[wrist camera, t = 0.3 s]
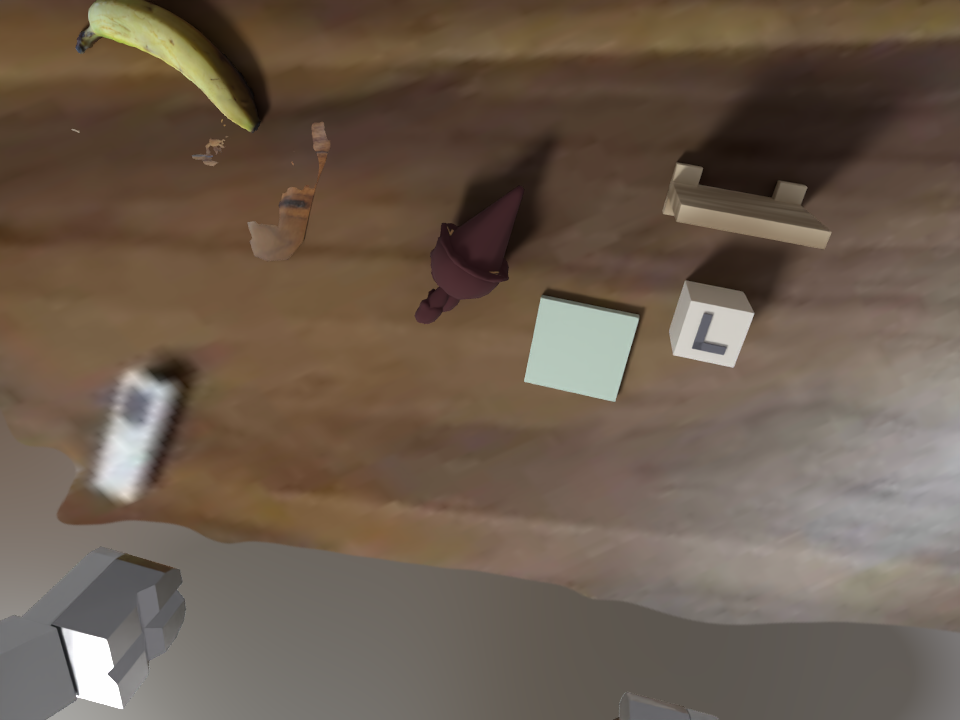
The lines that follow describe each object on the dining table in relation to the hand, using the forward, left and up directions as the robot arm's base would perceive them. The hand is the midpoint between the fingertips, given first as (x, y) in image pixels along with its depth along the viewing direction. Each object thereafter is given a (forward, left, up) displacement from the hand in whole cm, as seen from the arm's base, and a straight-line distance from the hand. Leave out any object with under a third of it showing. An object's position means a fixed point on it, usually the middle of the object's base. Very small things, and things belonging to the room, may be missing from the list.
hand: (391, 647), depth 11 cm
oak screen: (0, +13, -46) cm, 48 cm away
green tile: (+16, +4, -46) cm, 49 cm away
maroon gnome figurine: (+8, -7, -47) cm, 48 cm away
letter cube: (+10, +14, -47) cm, 50 cm away
